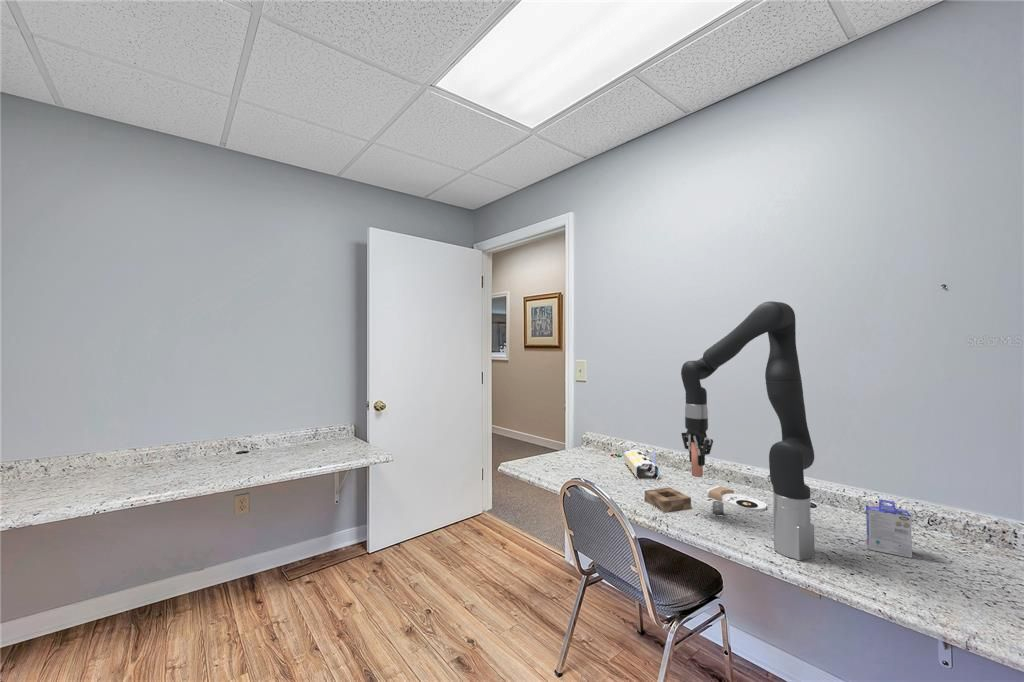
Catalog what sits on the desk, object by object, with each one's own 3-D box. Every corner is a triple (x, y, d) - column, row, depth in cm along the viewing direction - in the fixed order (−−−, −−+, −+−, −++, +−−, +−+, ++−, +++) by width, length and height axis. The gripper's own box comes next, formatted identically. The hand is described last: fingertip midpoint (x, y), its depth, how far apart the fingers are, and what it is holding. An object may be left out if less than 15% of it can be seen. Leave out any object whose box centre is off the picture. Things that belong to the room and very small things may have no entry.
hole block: (691, 508, 157) (690, 497, 157) (663, 512, 154) (663, 501, 154) (670, 497, 169) (670, 487, 169) (644, 500, 165) (644, 490, 165)
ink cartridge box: (908, 550, 124) (907, 502, 124) (913, 559, 120) (913, 508, 120) (865, 542, 130) (864, 496, 130) (868, 550, 125) (868, 501, 125)
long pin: (705, 476, 148) (704, 442, 148) (696, 477, 147) (696, 443, 147) (697, 473, 152) (697, 440, 152) (689, 474, 151) (689, 441, 151)
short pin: (725, 515, 151) (725, 504, 151) (717, 516, 150) (717, 505, 150) (718, 511, 154) (718, 500, 154) (710, 512, 153) (710, 501, 153)
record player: (720, 484, 175) (772, 500, 158) (720, 492, 175) (772, 508, 158) (704, 490, 168) (757, 507, 151) (704, 498, 168) (757, 515, 152)
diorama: (659, 480, 190) (658, 452, 190) (636, 480, 190) (635, 451, 190) (644, 464, 215) (644, 439, 215) (624, 464, 215) (623, 439, 215)
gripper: (719, 418, 144) (720, 468, 144) (691, 412, 157) (691, 457, 157) (701, 420, 142) (702, 470, 142) (674, 413, 155) (675, 459, 155)
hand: (696, 463), depth 150 cm, fingers closed on long pin, 3 cm apart
